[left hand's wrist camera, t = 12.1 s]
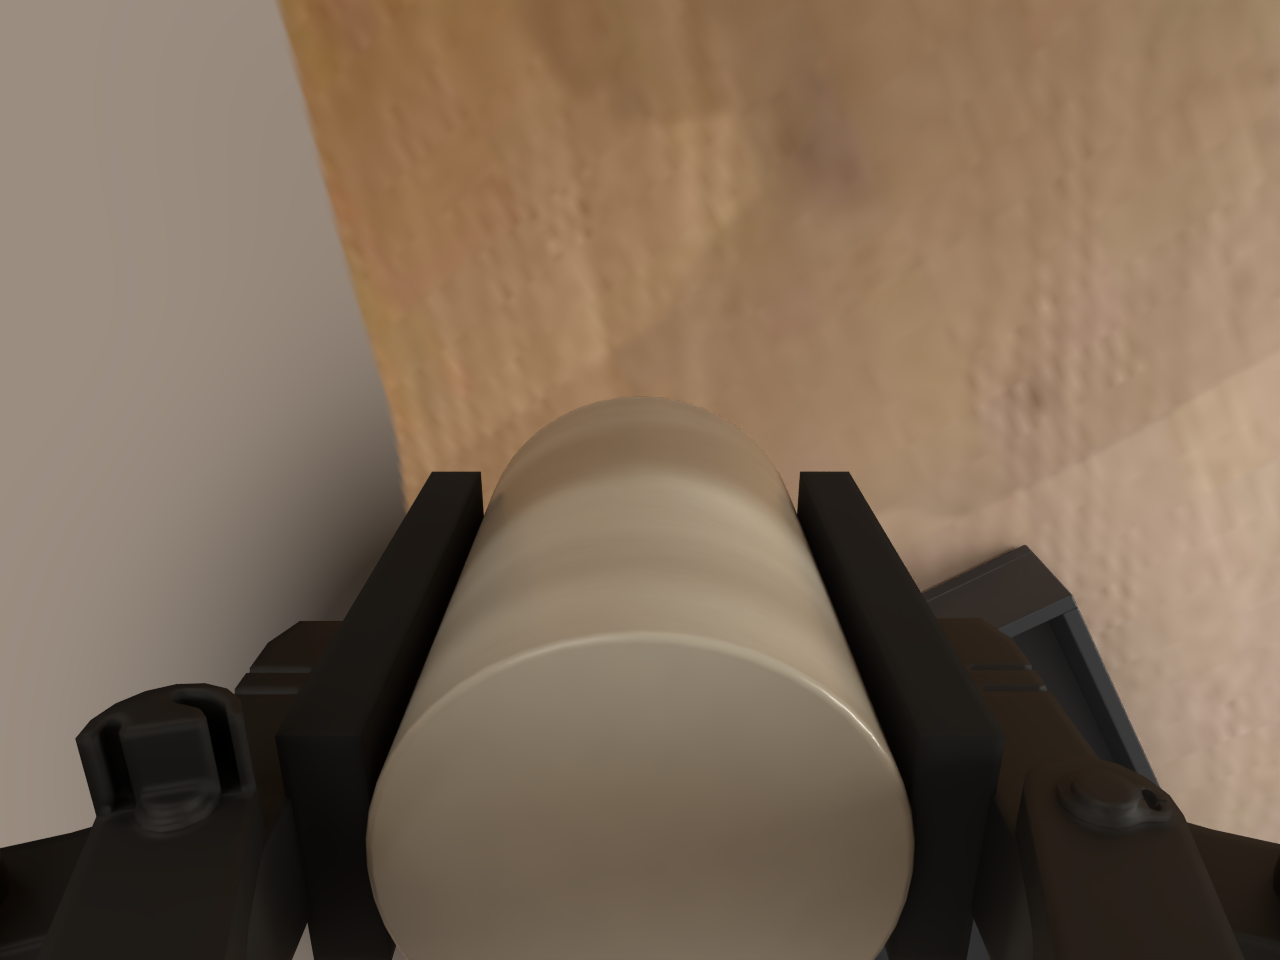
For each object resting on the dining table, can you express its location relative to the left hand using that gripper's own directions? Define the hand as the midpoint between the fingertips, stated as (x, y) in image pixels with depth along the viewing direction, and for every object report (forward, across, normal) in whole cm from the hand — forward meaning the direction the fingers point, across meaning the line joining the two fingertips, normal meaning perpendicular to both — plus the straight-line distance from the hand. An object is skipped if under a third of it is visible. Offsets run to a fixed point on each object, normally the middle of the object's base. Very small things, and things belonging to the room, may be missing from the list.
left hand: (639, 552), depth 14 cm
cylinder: (0, 0, 0) cm, 0 cm away
